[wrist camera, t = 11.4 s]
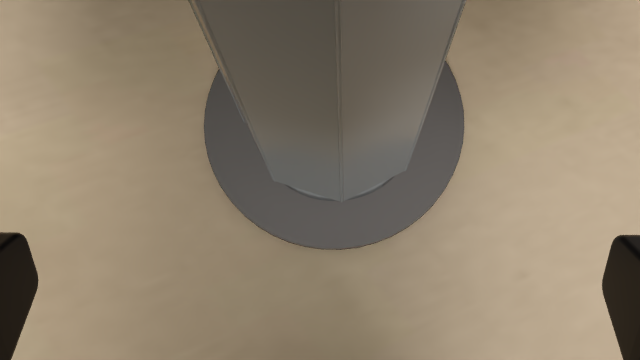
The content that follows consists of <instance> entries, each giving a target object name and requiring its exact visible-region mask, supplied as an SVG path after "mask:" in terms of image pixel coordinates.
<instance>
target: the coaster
mask: <svg viewBox="0 0 640 360" xmlns="http://www.w3.org/2000/svg"><path fill="white" fill-rule="evenodd" d="M204 134H205V144H206V149H207V154H208V158H209V161H210V164H211V167H212V169H213V172H214V174H215V176H216V178H217V180H218V182H219V184H220V186H221V188H222V189H223V191H224V192H225V193H226V195H227V196H228V197H229V199H230V200H231V202H232V203H233V204H234V205H235V206H236V207H237V208H238V209H239V210H240V211H241V212H242V214H243V215H244V216H245V217H247V218H248V219H249V220H250V221H252V222H253V223H254V224H255V225H257V226H258V227H260V228H261V229H263V230H265V231H266V232H268V233H270V234H271V235H273V236H275V237H278V238H280V239H282V240H285V241H287V242H290V243H293V244H297V245H301V246H304V247H310V248H317V249H336V250H341V249H349V248H358V247H362V246H366V245H370V244H374V243H377V242H379V241H382V240H384V239H387V238H389V237H392V236H393V235H395V234H397V233H399V232H400V231H402V230H404V229H406V228H407V227H409V226H410V225H411V224H413V223H414V222H415V221H417V220H418V219H419V218H421V217H422V216H423V215H424V214H425V213H426V212H427V211H428V210H429V209H430V208H431V207H432V206H433V204H434V203H435V202H436V200H437V199H438V198H439V196H440V195H441V194H442V192H443V191H444V189H445V188H446V186H447V184H448V182H449V181H450V179H451V177H452V175H453V173H454V170H455V168H456V165H457V163H458V160H459V157H460V153H461V148H462V144H463V135H464V110H463V105H462V100H461V95H460V92H459V89H458V86H457V83H456V80H455V78H454V76H453V74H452V72H451V70H450V68H449V66H448V64H447V63H446V61H445V62H444V65H443V68H442V71H441V74H440V77H439V80H438V82H437V85H436V88H435V91H434V94H433V97H432V100H431V103H430V105H429V108H428V111H427V114H426V117H425V120H424V123H423V125H422V128H421V131H420V134H419V137H418V140H417V143H416V145H415V148H414V151H413V154H412V157H411V160H410V163H409V165H408V168H407V170H406V171H403V172H401V173H399V174H397V175H395V176H394V177H393V178H392V180H390V181H389V182H388V183H387V184H385V185H384V186H383V187H381V188H379V189H378V190H376V191H374V192H372V193H370V194H368V195H365V196H363V197H359V198H356V199H352V200H345V201H344V202H340V201H325V200H318V199H314V198H310V197H307V196H304V195H302V194H299V193H297V192H296V191H294V190H292V189H290V188H289V187H287V186H286V185H284V184H282V183H279V182H276V181H275V182H274V181H273V180H272V178H271V176H270V173H269V171H268V169H267V166H266V164H265V162H264V161H263V159H262V157H261V155H260V152H259V150H258V148H257V146H256V144H255V142H254V140H253V138H252V136H251V134H250V132H249V130H248V128H247V126H246V124H245V123H244V122H243V120H242V118H241V115H240V113H239V111H238V109H237V107H236V104H235V102H234V100H233V98H232V95H231V93H230V91H229V89H228V87H227V84H226V82H225V80H224V78H223V76H222V73H221V71H220V69H219V71H218V73H217V75H216V77H215V78H214V81H213V83H212V86H211V89H210V92H209V95H208V99H207V104H206V109H205V119H204Z"/></svg>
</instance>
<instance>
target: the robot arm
mask: <svg viewBox="0 0 640 360" xmlns="http://www.w3.org/2000/svg"><path fill="white" fill-rule="evenodd" d="M37 287H38V274H37V270H36V267H35V264H34V261H33V258H32V255H31V251H30V248H29V245H28V242H27V240H26V238H25V237H24V235H22V234H20V233H3V232H0V360H11V359H12V356H13V353H14V350H15V348H16V345H17V342H18V340H19V337H20V334H21V332H22V329H23V326H24V324H25V321H26V318H27V316H28V313H29V310H30V308H31V305H32V302H33V299H34V297H35V294H36V291H37ZM602 290H603V295H604V299H605V302H606V305H607V308H608V312H609V315H610V318H611V321H612V325H613V328H614V331H615V334H616V338H617V341H618V344H619V347H620V351H621V354H622V357H623V360H640V235H619V236H617V237H616V238H615V239H614V240H613V242H612V245H611V249H610V253H609V256H608V260H607V264H606V268H605V272H604V275H603V280H602Z"/></svg>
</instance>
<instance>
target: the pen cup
mask: <svg viewBox="0 0 640 360" xmlns="http://www.w3.org/2000/svg"><path fill="white" fill-rule="evenodd" d="M465 2H466V0H189V3H190V5H191V7H192V9H193V11H194V14H195V16H196V18H197V20H198V22H199V25H200V27H201V29H202V31H203V34H204V36H205V38H206V40H207V42H208V45H209V47H210V49H211V51H212V53H213V56H214V58H215V60H216V62H217V64H218V67H219V69H220V71H221V73H222V76H223V78H224V80H225V82H226V84H227V87H228V89H229V91H230V93H231V95H232V98H233V100H234V102H235V104H236V107H237V109H238V111H239V113H240V115H241V118H242V120H243V122H244V123H245V124H246V126H247V128H248V130H249V132H250V134H251V136H252V138H253V140H254V142H255V144H256V146H257V148H258V150H259V152H260V155H261V157H262V159H263V161H264V162H265V164H266V166H267V169H268V171H269V173H270V176H271V178H272V180H273V181H274V182H275V181H276V182H279V183H282V184H284V185H286V186H287V187H289V188H290V189H292V190H294V191H296V192H297V193H299V194H302V195H304V196H307V197H310V198H314V199H318V200H325V201H340V202H344V201H345V200H352V199H356V198H359V197H363V196H365V195H368V194H370V193H372V192H374V191H376V190H378V189H379V188H381V187H383V186H384V185H385V184H387V183H388V182H389V181H390V180H392V178H393V177H394V176H395V175H397V174H399V173H401V172H403V171H406V170H407V168H408V165H409V163H410V160H411V157H412V154H413V151H414V148H415V145H416V143H417V140H418V137H419V134H420V131H421V128H422V125H423V123H424V120H425V117H426V114H427V111H428V108H429V105H430V103H431V100H432V97H433V94H434V91H435V88H436V85H437V82H438V80H439V77H440V74H441V71H442V68H443V65H444V62H445V60H446V57H447V54H448V51H449V48H450V45H451V42H452V40H453V37H454V34H455V31H456V28H457V25H458V22H459V20H460V17H461V14H462V11H463V8H464V5H465Z"/></svg>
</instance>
